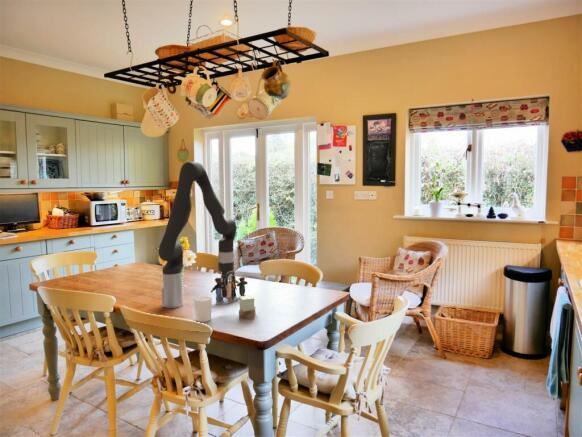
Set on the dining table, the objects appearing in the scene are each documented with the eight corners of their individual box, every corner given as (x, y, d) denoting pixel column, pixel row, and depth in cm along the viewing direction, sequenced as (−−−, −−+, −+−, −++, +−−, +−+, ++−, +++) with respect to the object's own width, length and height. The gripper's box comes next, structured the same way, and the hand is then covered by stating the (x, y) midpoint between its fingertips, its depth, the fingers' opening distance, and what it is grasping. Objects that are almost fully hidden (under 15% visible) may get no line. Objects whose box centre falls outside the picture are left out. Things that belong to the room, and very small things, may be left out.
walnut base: (239, 319, 192) (238, 311, 191) (240, 314, 199) (240, 306, 198) (254, 319, 192) (254, 311, 191) (255, 314, 199) (255, 306, 198)
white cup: (191, 321, 190) (190, 300, 189) (201, 315, 197) (200, 295, 196) (206, 323, 187) (205, 301, 186) (215, 317, 194) (214, 296, 193)
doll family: (223, 307, 210) (222, 281, 208) (209, 304, 214) (208, 279, 213) (249, 295, 230) (248, 271, 229) (235, 293, 234) (234, 270, 233)
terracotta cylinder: (219, 297, 199) (219, 285, 198) (223, 294, 204) (222, 282, 203) (229, 298, 198) (229, 285, 198) (232, 295, 203) (232, 283, 202)
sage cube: (242, 311, 191) (242, 299, 191) (239, 308, 196) (239, 296, 196) (254, 310, 193) (254, 298, 193) (250, 306, 198) (250, 295, 198)
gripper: (223, 257, 207) (223, 290, 208) (213, 263, 192) (213, 299, 194) (237, 258, 205) (237, 291, 207) (229, 264, 191) (229, 300, 193)
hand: (226, 295), depth 201 cm, fingers closed on terracotta cylinder, 4 cm apart
